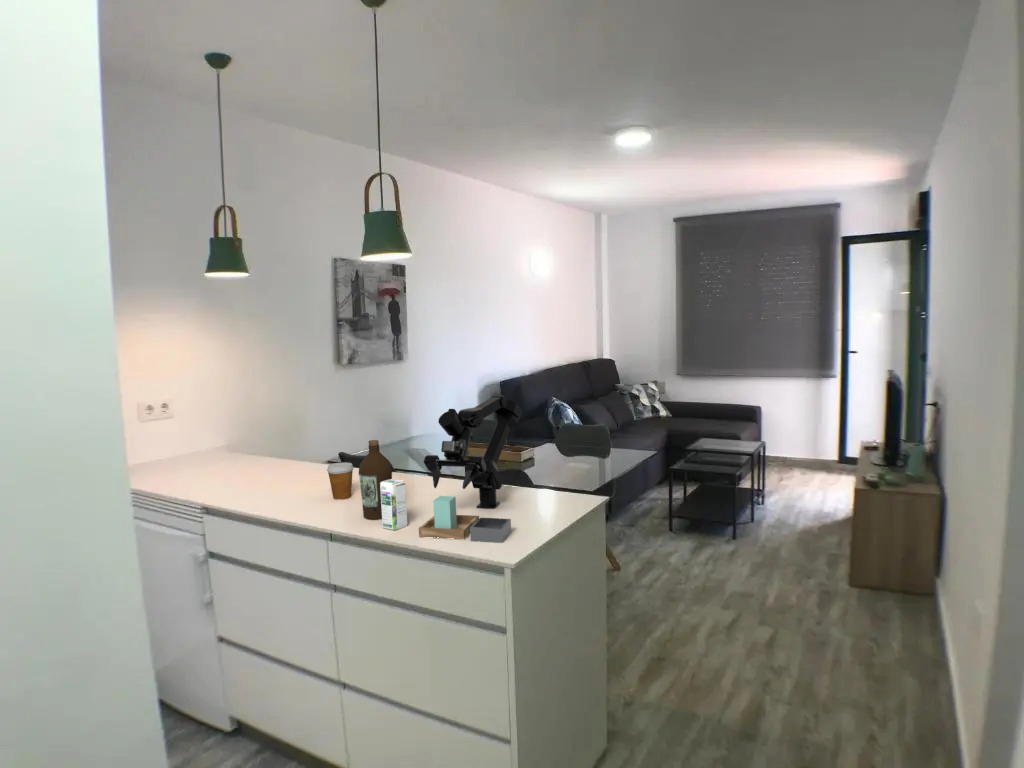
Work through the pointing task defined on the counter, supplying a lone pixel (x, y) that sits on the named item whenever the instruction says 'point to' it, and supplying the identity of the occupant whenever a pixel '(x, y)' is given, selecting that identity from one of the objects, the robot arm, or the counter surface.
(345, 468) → the disposable coffee cup
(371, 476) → the olive oil
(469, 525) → the tray
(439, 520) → the block
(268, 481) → the counter surface
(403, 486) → the syrup box
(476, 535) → the holder
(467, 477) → the robot arm
